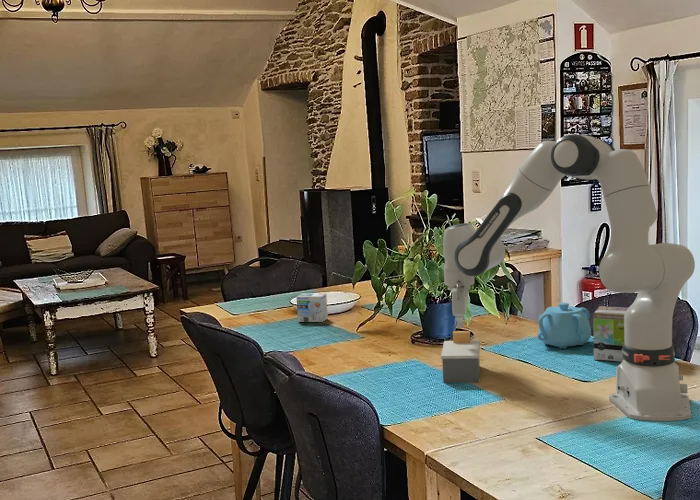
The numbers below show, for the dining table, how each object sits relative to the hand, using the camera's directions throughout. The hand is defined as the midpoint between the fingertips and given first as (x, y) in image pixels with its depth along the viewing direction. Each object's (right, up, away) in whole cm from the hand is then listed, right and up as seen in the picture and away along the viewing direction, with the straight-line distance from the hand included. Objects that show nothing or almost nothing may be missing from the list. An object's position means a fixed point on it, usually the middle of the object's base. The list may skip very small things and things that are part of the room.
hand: (460, 323), depth 229 cm
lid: (-1, -8, -6) cm, 10 cm away
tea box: (+48, -11, +1) cm, 50 cm away
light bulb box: (-48, -7, +77) cm, 91 cm away
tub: (0, -14, -6) cm, 15 cm away
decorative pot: (+37, -9, +20) cm, 43 cm away
